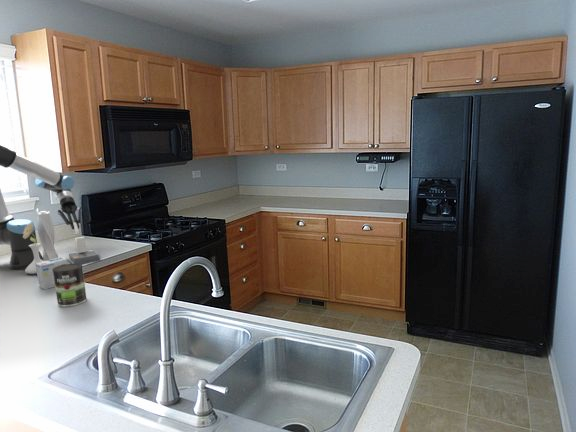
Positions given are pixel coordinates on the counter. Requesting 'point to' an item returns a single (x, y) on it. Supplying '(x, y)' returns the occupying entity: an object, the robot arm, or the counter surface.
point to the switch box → (84, 257)
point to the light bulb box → (48, 272)
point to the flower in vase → (35, 248)
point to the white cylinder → (80, 244)
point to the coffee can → (69, 284)
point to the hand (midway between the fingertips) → (77, 233)
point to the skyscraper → (46, 235)
